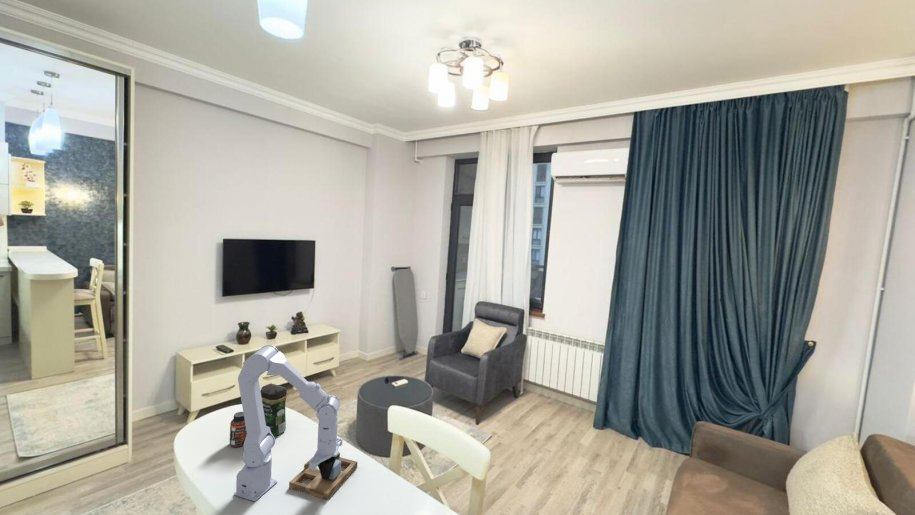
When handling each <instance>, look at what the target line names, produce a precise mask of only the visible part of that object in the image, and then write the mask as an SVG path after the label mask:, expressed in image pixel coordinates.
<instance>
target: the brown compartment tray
mask: <svg viewBox="0 0 915 515" xmlns="http://www.w3.org/2000/svg"><path fill="white" fill-rule="evenodd" d="M312 459H313V457H311V458H310V459H309V460H308V461H306V462H305V464H303V469H302V471H300V472H299V473H298V474H297V475H296V476H294V477H293V478H292V479H291V480H289V482H288V484H289V485H288V486H289V487H288V489H290V490H294V491H296V492H300V493H304V494H306V495H310V496H313V497H316V498H320V499H324V500H327V501H328V500H329V499H330V498H331V496H332V495H334V493H335V492H337V491H338V489H339V488H340V487H341V486H342V485H343V484H344V483H345V481H346V480H348V478H349V477H350V476H351V475H352V474H353V473H354V471H355V470H356V469H357V468H358V464H359V463H358V461H356V460H352V459H349V458H345V457H341V452H339V454H338V457H337V459H336V460H340V461H341V467H343V468H345V469H344V470H342V469H341V473H340V474H339V475H338V476H337V477H336V478H335V479H334V480H332V479H328V480H325V479H322V477H321V473H320V470H319V467H318V465H317V468H316V469H315V470H312V469H309V463H310V462H311V460H312ZM346 467H347V468H346ZM352 472H353V473H352ZM304 480H308V481H310V482H309V483H308V484H305V483H303V482H304Z"/></svg>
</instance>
